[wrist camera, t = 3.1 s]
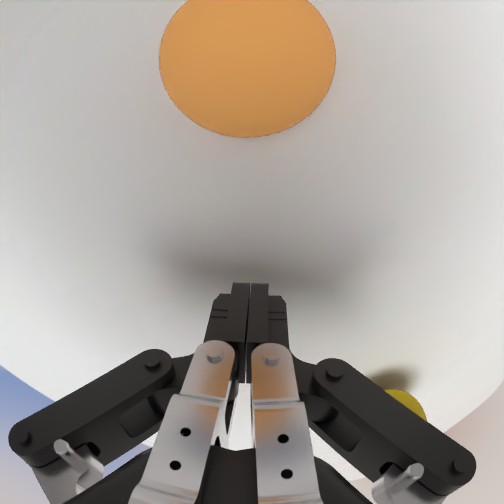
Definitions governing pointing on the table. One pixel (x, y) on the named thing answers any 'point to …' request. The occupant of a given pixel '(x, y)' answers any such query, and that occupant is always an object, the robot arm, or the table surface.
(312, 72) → the ball
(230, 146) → the table surface
